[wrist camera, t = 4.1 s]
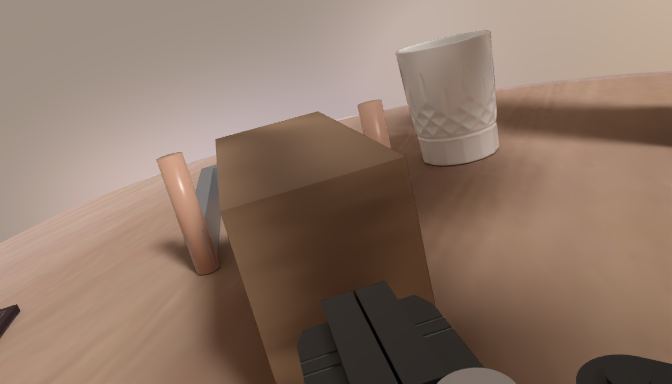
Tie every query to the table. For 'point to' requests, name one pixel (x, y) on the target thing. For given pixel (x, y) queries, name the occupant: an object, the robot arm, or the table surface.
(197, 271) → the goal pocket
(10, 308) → the chocolate bar
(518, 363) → the table surface
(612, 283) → the table surface
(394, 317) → the robot arm
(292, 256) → the walnut block
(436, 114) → the white cup
